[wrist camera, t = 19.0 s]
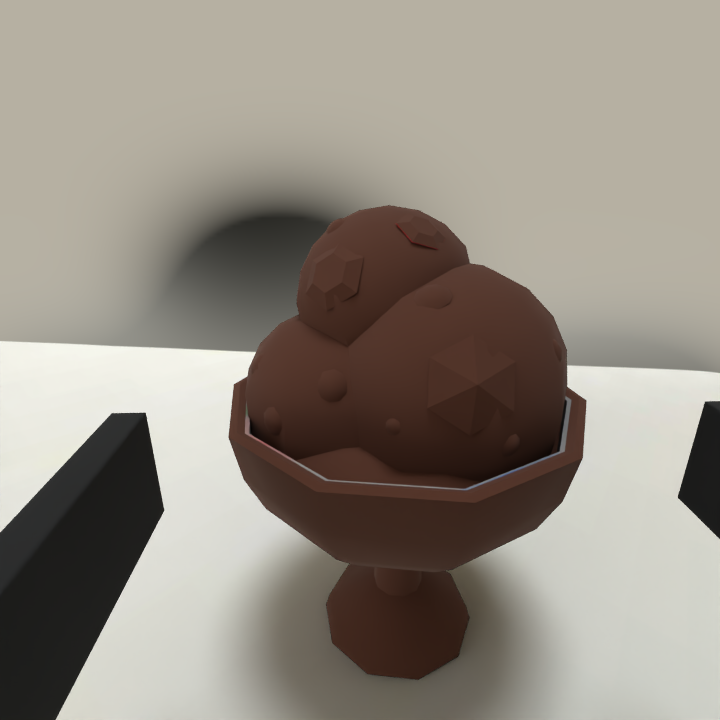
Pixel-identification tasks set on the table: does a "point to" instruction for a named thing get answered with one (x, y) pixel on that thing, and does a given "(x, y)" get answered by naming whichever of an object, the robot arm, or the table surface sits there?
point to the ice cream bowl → (406, 427)
